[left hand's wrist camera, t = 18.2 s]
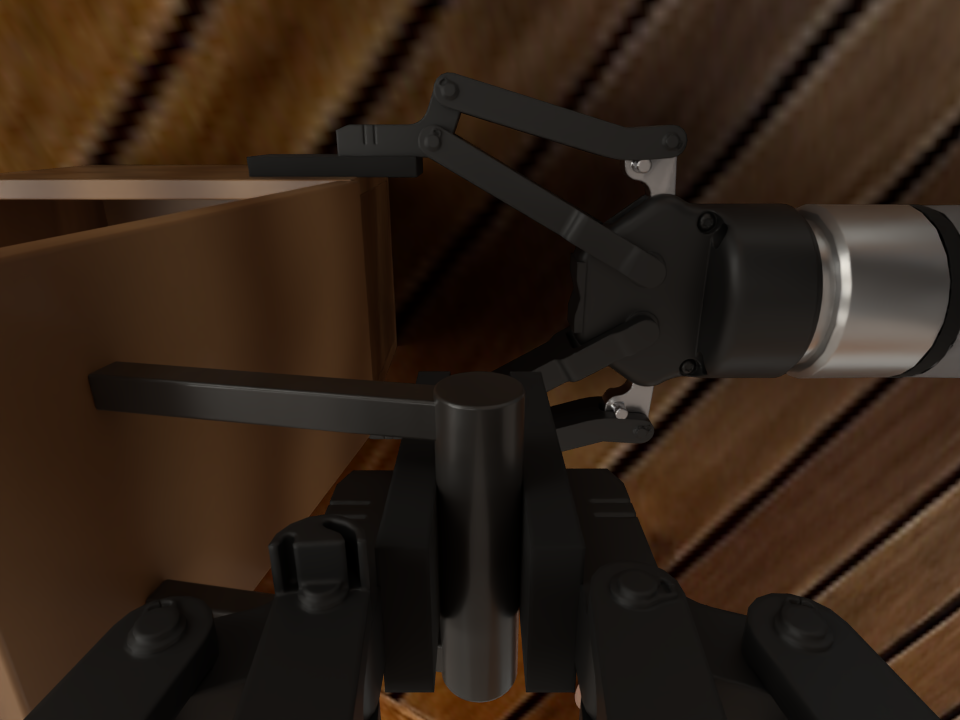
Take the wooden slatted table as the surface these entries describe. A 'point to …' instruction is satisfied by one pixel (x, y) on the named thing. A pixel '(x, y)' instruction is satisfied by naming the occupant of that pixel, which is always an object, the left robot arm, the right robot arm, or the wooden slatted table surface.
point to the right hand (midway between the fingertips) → (276, 293)
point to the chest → (176, 188)
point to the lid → (222, 431)
